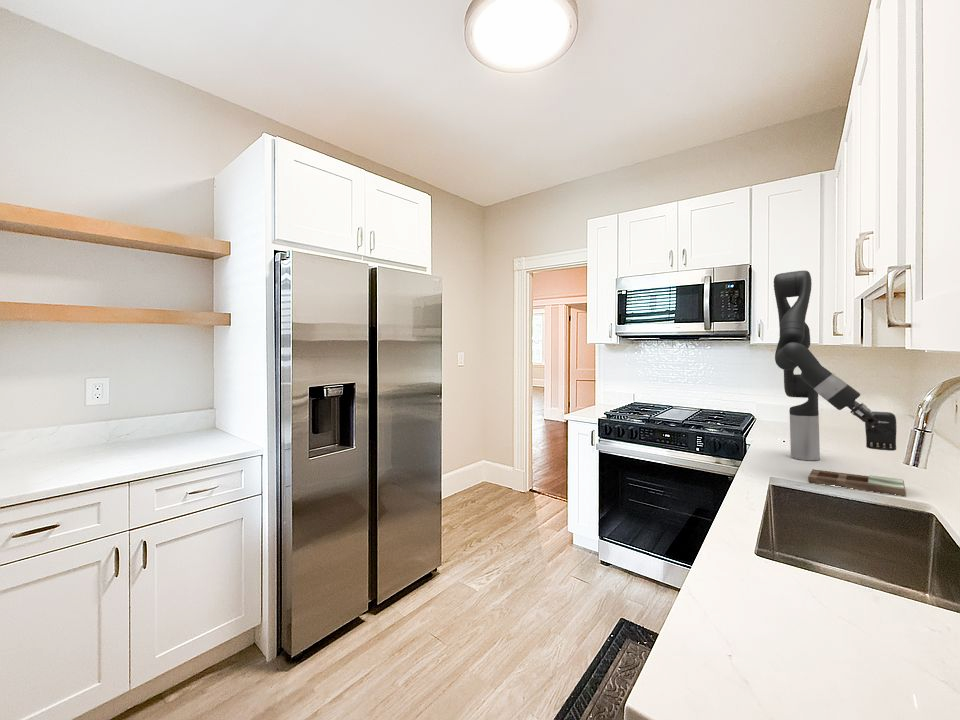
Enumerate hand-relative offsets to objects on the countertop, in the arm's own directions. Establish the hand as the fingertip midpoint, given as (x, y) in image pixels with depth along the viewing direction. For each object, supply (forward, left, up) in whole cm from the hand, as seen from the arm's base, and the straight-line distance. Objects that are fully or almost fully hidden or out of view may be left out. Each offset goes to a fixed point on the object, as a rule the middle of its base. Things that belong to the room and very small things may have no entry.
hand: (889, 433), depth 127 cm
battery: (0, -2, -5) cm, 6 cm away
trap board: (0, -8, -17) cm, 19 cm away
